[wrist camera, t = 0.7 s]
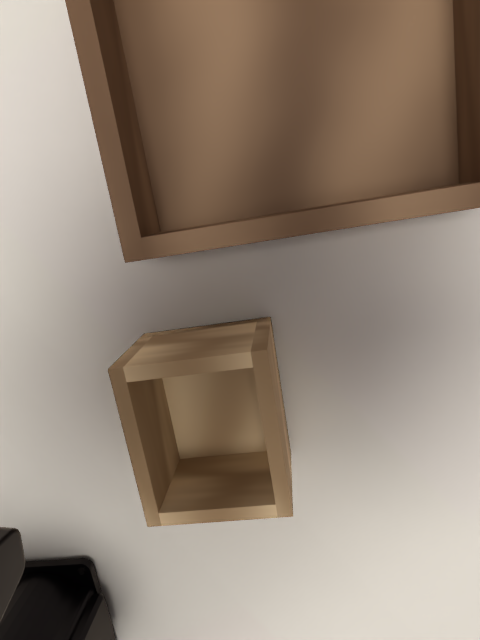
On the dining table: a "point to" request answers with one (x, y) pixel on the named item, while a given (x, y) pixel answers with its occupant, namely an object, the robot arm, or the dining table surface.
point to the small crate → (206, 423)
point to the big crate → (279, 115)
